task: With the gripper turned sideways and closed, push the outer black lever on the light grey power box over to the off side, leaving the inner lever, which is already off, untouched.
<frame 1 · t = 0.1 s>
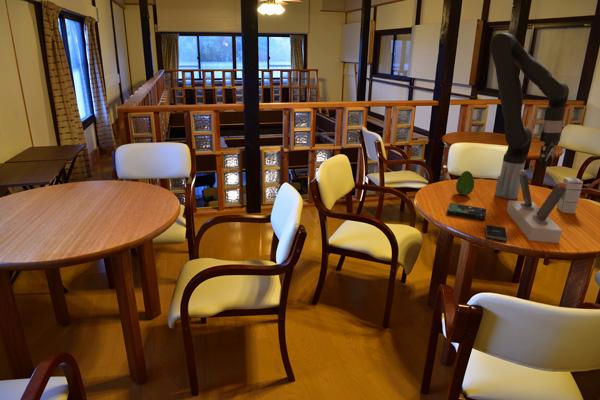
hand: (545, 167, 182), 17 cm above the table, tool pointing down, fingers open, 8 cm apart
disk drive: (465, 215, 173), on the table
inner lever: (525, 187, 165), point 13 cm above the table, hinge at 20.0°
syrup box: (565, 211, 180), on the table
power box: (530, 225, 163), on the table
outer lever: (551, 200, 151), point 13 cm above the table, hinge at -20.0°
avocado: (463, 195, 197), on the table
external hard drive: (495, 236, 153), on the table
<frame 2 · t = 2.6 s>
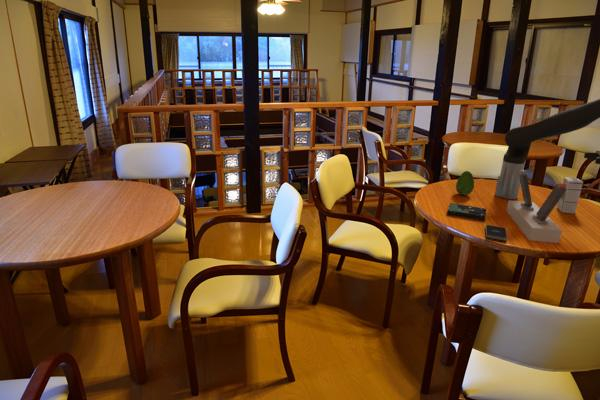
hand: (590, 157, 144), 30 cm above the table, tool horizontal, fingers open, 8 cm apart
nothing on the table moved.
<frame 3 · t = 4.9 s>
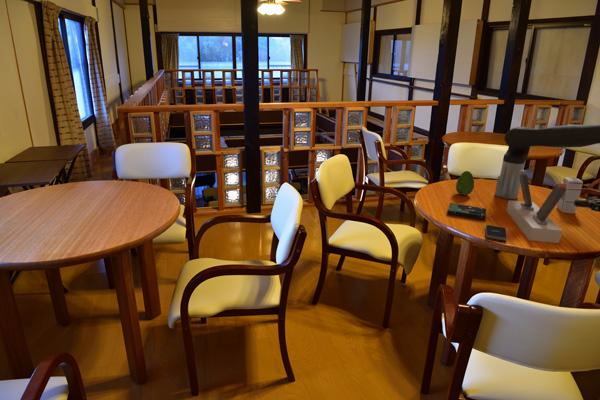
hand: (575, 203, 149), 13 cm above the table, tool horizontal, fingers closed
nothing on the table moved.
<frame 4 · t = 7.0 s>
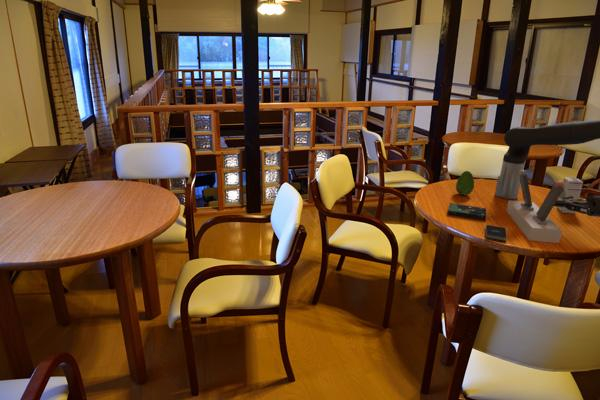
hand: (552, 202, 151), 13 cm above the table, tool horizontal, fingers closed
outer lever: (550, 200, 151), point 14 cm above the table, hinge at -15.8°, touching gripper
everything else where it was.
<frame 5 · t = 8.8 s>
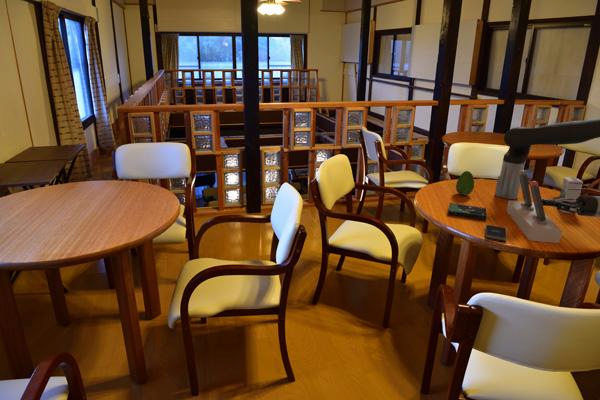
hand: (542, 202, 152), 13 cm above the table, tool horizontal, fingers closed
outer lever: (537, 199, 152), point 13 cm above the table, hinge at 22.5°
everything else where it was.
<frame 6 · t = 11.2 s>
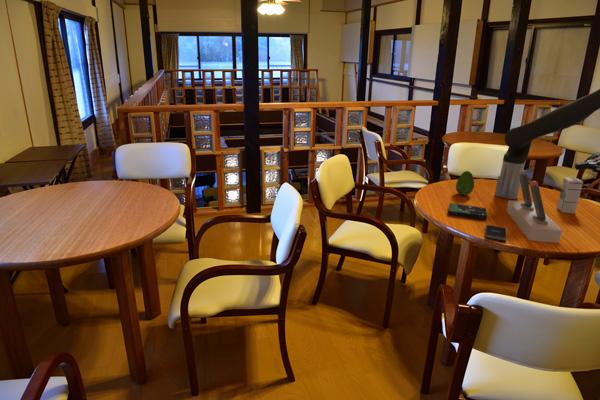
hand: (575, 166, 148), 26 cm above the table, tool horizontal, fingers closed
nothing on the table moved.
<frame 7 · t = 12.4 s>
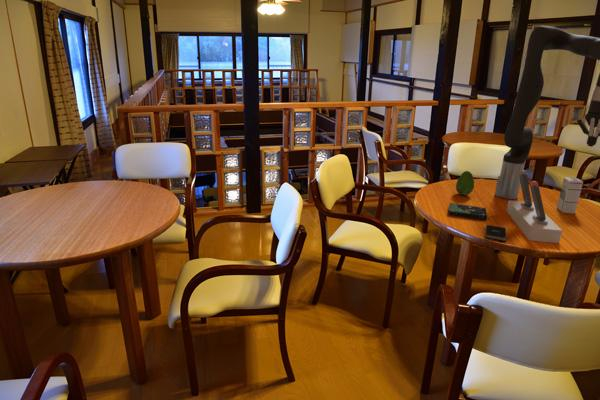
hand: (590, 146, 156), 32 cm above the table, tool pointing down, fingers closed
nothing on the table moved.
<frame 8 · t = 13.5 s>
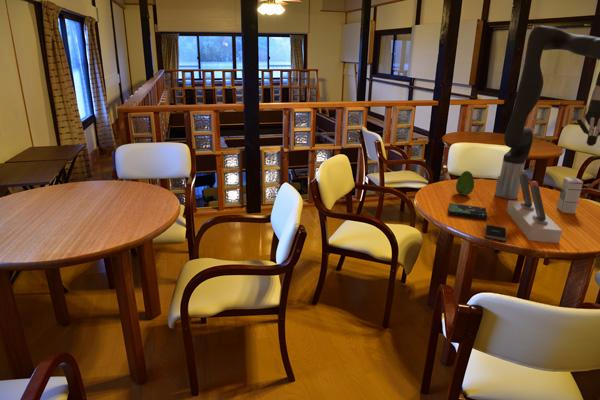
hand: (590, 145, 156), 32 cm above the table, tool pointing down, fingers closed
nothing on the table moved.
at the end: outer lever at +22° (first picture: -20°); inner lever at +20° (first picture: +20°) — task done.
